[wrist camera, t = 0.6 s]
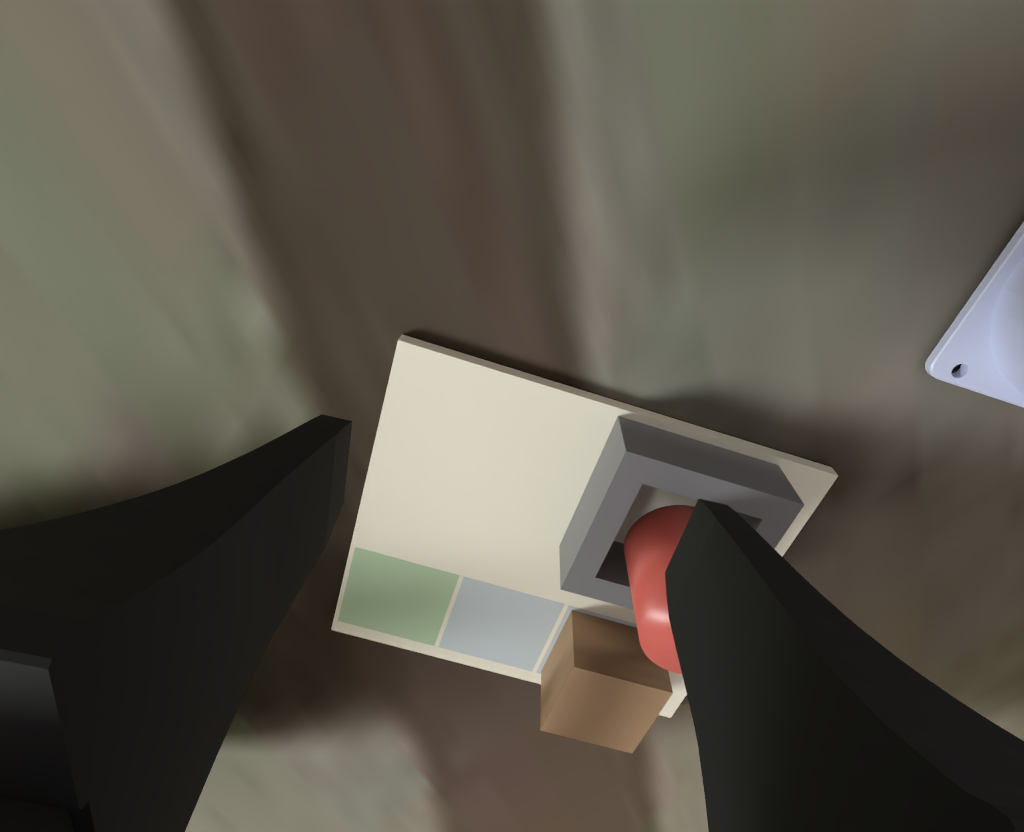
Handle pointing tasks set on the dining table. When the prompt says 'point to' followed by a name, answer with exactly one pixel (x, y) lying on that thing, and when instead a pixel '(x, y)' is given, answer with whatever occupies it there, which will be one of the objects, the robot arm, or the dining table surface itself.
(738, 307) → the dining table surface
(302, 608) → the dining table surface
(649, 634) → the dome button
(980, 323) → the robot arm
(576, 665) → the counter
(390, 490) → the board
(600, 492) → the dome collar
